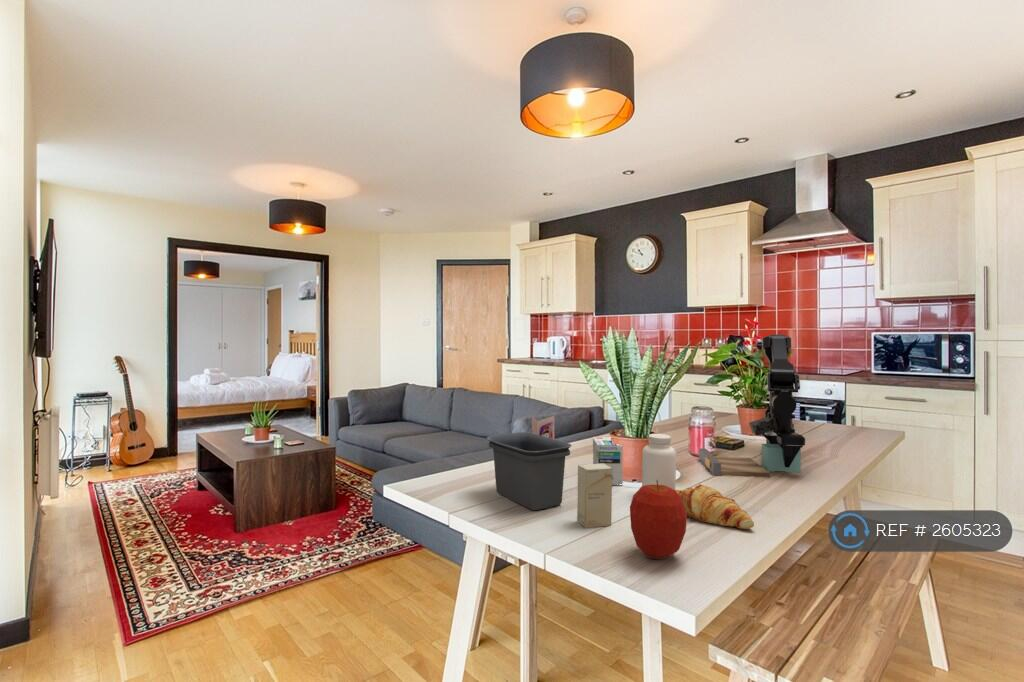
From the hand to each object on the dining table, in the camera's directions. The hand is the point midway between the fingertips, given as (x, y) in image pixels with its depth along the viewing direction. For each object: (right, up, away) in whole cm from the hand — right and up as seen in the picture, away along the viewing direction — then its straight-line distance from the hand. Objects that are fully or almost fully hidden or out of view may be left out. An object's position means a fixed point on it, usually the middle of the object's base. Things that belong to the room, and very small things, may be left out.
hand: (780, 463), depth 148 cm
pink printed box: (-72, -2, +1) cm, 72 cm away
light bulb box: (-53, -2, -10) cm, 54 cm away
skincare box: (-62, -3, -42) cm, 74 cm away
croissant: (-36, -3, -38) cm, 52 cm away
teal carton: (0, -2, 0) cm, 2 cm away
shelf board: (-12, -2, +1) cm, 13 cm away
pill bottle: (-43, -3, -24) cm, 49 cm away
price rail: (-20, -2, +2) cm, 20 cm away
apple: (-53, -3, -57) cm, 78 cm away
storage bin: (-74, -3, -26) cm, 79 cm away
